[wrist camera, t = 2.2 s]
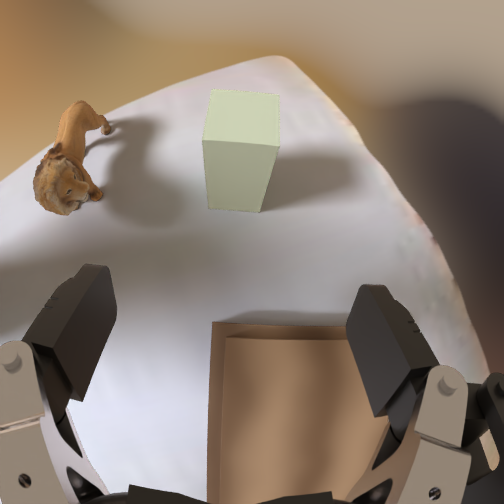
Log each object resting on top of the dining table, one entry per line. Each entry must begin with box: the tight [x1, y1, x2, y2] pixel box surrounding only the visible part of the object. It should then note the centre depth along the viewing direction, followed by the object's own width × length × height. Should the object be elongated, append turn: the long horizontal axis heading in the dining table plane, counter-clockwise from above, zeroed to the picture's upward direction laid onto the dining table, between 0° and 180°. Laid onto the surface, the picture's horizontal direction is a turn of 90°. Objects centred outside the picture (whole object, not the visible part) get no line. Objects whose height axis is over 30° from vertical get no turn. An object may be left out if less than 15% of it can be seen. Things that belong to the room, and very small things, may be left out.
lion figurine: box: [33, 101, 111, 215], centre depth 21 cm, size 15×5×9 cm, turn 15°
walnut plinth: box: [207, 322, 388, 504], centre depth 19 cm, size 14×16×5 cm
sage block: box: [202, 89, 280, 213], centre depth 21 cm, size 4×4×10 cm
